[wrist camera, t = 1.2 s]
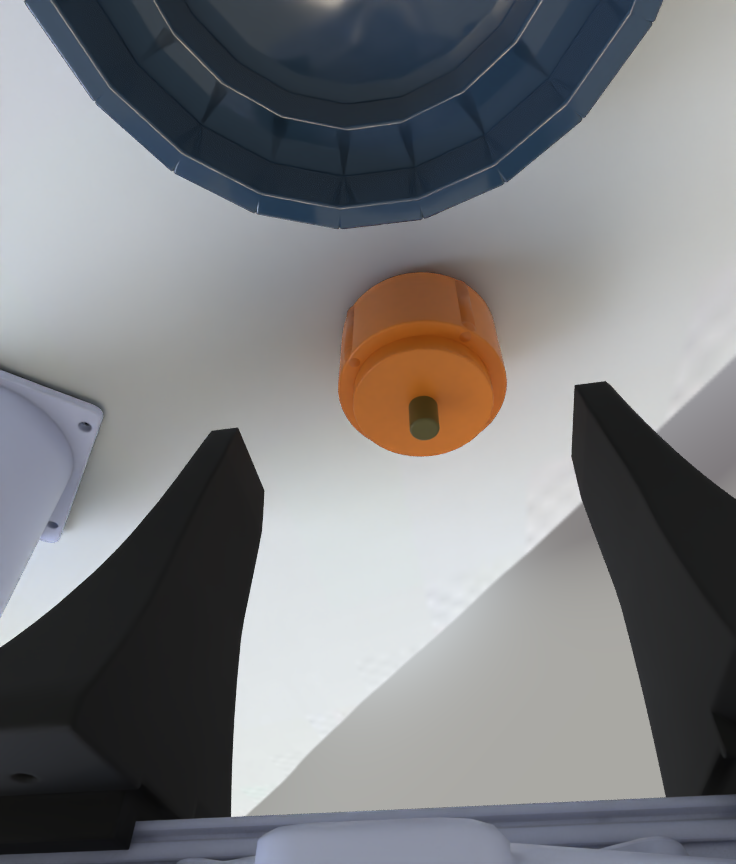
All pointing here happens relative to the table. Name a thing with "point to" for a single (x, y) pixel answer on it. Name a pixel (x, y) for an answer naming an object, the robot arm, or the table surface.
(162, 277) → the table surface
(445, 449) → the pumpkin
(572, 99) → the bowl
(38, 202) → the table surface
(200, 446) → the robot arm
